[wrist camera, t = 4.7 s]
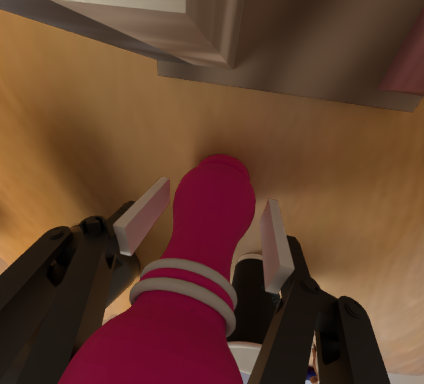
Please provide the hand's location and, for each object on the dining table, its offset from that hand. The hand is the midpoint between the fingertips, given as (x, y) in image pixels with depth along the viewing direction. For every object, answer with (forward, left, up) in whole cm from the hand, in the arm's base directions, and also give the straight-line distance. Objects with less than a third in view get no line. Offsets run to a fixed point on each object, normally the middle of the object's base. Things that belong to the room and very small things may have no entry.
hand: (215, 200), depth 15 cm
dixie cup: (+7, -13, -4) cm, 15 cm away
